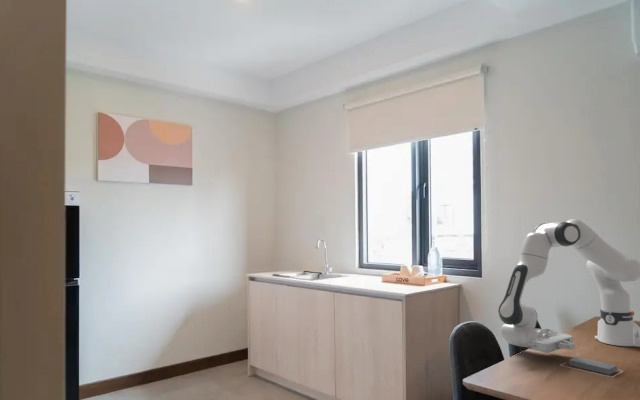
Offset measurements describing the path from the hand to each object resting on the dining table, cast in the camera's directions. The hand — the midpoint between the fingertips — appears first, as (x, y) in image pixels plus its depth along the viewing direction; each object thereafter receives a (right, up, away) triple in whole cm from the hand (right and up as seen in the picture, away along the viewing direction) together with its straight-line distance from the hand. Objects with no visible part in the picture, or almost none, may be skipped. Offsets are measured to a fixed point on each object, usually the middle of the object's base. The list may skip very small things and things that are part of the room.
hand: (573, 346), depth 170 cm
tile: (0, -5, 0) cm, 5 cm away
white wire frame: (+4, -7, -5) cm, 9 cm away
